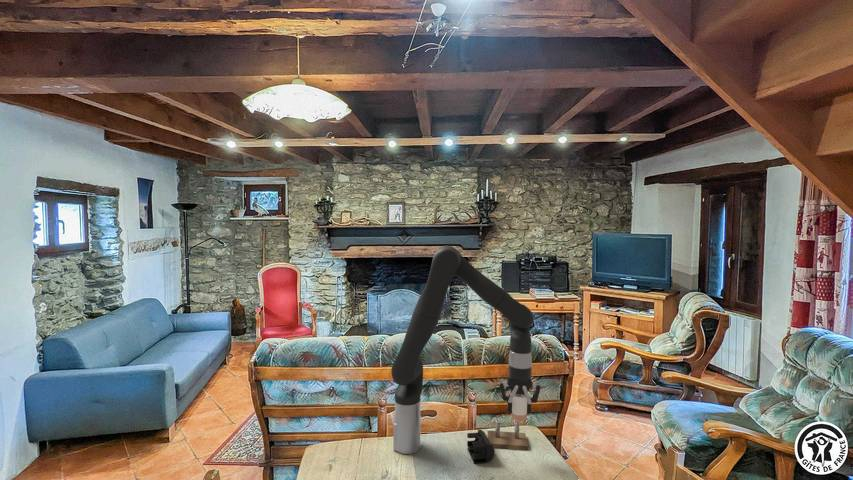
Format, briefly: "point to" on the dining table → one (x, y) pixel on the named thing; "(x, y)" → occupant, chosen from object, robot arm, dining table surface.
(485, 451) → the end cap
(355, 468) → the dining table surface
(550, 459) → the dining table surface
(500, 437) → the pin board
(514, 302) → the robot arm
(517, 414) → the sleeve
